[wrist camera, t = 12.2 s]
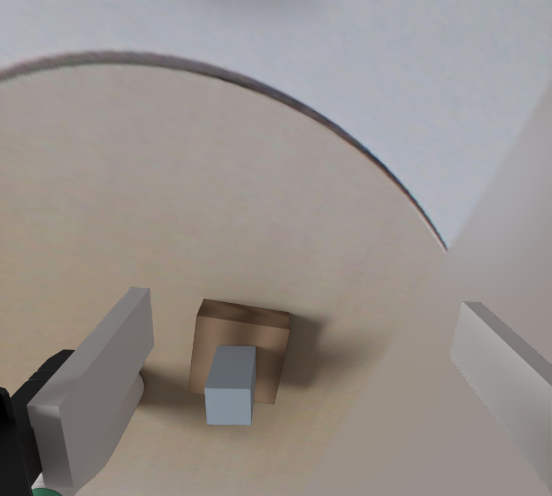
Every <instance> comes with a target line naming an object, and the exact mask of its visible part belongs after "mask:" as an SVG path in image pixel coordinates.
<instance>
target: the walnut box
mask: <svg viewBox="0 0 552 496" xmlns="http://www.w3.org/2000/svg"><path fill="white" fill-rule="evenodd" d="M289 333H290V320H289V312H284V311H277V310H271V309H265V308H258V307H252V306H246V305H239V304H233V303H227V302H220V301H214V300H207V299H203V302H202V304H201V306H200V309H199V311H198V314H197V317H196V325H195V334H194V342H193V351H192V360H191V368H190V377H189V385H188V392H189V393H196V394H203V395H205V390H204V388H205V385H206V381H207V378H208V375H209V371H210V368H211V365H212V361H213V358H214V354H215V351H216V348H217V346H256V384H255V393H254V402H259V403H266V404H273V405H274V403H275V398H276V394H277V389H278V384H279V380H280V375H281V370H282V366H283V361H284V356H285V352H286V347H287V342H288V338H289Z"/></svg>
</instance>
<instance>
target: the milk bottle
mask: <svg viewBox="0 0 552 496" xmlns="http://www.w3.org/2000/svg"><path fill="white" fill-rule="evenodd" d="M143 392H144V383H143V379H142V377H141V376H140V374H139V373H138V375H137V376H136V378H135V380H134V382H133V384H132V386H131V387H130V389H129V391H128V393H127V395H126V396H125V398H124V400H123V402H122V404H121V405H120V407H119V409H118V411H117V413H116V414H115V416H114V418H113V420H112V422H111V423H110V425H109V427H108V429H107V431H106V432H105V434H104V436H103V438H102V440H101V441H100V443H99V445H98V447H97V449H96V450H95V452H94V454H93V456H92V458H91V459H90V461H89V463H88V465H87V467H86V468H85V470H84V472H83V474H82V476H81V477H80V479H79V481H78V483H77V485H76V486H75V488H74V489H53V488H45V486H44V481H43V477H42V472H41V474H40V475H39V477H38V478H37V480H36V481H35V483H34V485H33V486H32V492H33V496H74V495H75V494H76V493H77V492H78V491H79V490H80V489H81V488H82V487H83V486H84V485H85V484H86V483H88V482H89V481H90V480H91V479H93V478H94V477H95V476H96V475H97V474H98V473H99V472H100V471H101V470H102V469H103V467H104V466H105V465H106V463H107V462H108V460H109V459H110V457H111V455H112V454H113V452H114V450H115V448H116V446H117V445H118V443H119V441H120V439H121V437H122V435H123V433H124V431H125V429H126V427H127V425H128V423H129V421H130V419H131V417H132V415H133V413H134V411H135V409H136V407H137V405H138V403H139V401H140V399H141V397H142V395H143Z"/></svg>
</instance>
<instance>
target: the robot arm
mask: <svg viewBox="0 0 552 496" xmlns="http://www.w3.org/2000/svg"><path fill="white" fill-rule="evenodd" d="M153 346H154V337H153V324H152V311H151V297H150V288H136V287H131V288H130V289H129V290H128V292H127V293H126V294H125V295H124V296H123V297H122V298H121V299H120V301H119V302H118V303H117V304H116V305H115V306H114V307H113V308H112V310H111V311H110V312H109V313H108V314H107V315H106V316H105V317H104V319H103V320H102V321H101V322H100V323H99V324H98V325H97V326H96V328H95V329H94V330H93V331H92V332H91V333H90V334H89V335H88V337H87V338H86V339H85V340H84V341H83V342H82V343H81V344H80V346H79V347H78V348H77V349H76V350H65V349H64V350H62V351H60V352H59V353H57V354H55V355H54V356H52V357H50V358H49V359H48V360H47V361H46V362H45V363H44V364H43V365H42V366H41V367H40V368H39V369H38V371H37V372H35V373H34V374H33V375H32V376H31V377H30V378H29V380H28V381H26V382H25V383H24V384H23V385H22V386H21V387H20V388H19V389H18V390H17V391H16V392H15V394H14V395H13V396H12V397H11V398H10V396H9V393H8V391H7V390H6V389H5V388H2V387H0V496H33V492H32V486H33V484H34V483H35V481H36V480H37V478H38V477H39V475H40V474H41V472H42V477H43V481H44V486H45V488H53V489H74V488H75V486H76V485H77V483H78V481H79V479H80V477H81V476H82V474H83V472H84V470H85V468H86V467H87V465H88V463H89V461H90V459H91V458H92V456H93V454H94V452H95V450H96V449H97V447H98V445H99V443H100V441H101V440H102V438H103V436H104V434H105V432H106V431H107V429H108V427H109V425H110V423H111V422H112V420H113V418H114V416H115V414H116V413H117V411H118V409H119V407H120V405H121V404H122V402H123V400H124V398H125V396H126V395H127V393H128V391H129V389H130V387H131V386H132V384H133V382H134V380H135V378H136V376H137V375H138V373H139V371H140V369H141V367H142V366H143V364H144V362H145V360H146V358H147V357H148V355H149V353H150V351H151V349H152V348H153ZM449 357H450V358H451V360H452V361H453V362H454V364H455V365H456V366H457V368H458V369H459V370H460V372H461V373H462V375H463V376H464V377H465V379H467V381H468V383H469V384H470V385H471V387H472V388H473V389H474V391H475V392H476V393H477V395H478V396H479V397H480V399H481V400H482V401H483V403H484V404H485V406H486V407H487V408H488V409H489V411H490V412H491V414H492V415H493V416H494V418H495V419H496V420H497V422H498V423H499V424H500V426H501V427H502V428H503V430H504V431H505V432H506V434H507V435H508V437H509V438H510V439H511V441H512V442H513V443H514V445H515V446H516V447H517V449H518V450H519V451H520V453H521V454H522V455H523V457H524V458H525V460H526V461H527V462H528V464H529V465H530V466H531V468H532V469H533V470H534V472H535V473H536V474H537V476H538V477H539V478H540V480H541V481H542V482H543V484H544V485H545V486H546V488H547V489H548V491H549V492H550V493H551V495H552V364H551V363H550V362H548V361H547V360H546V359H545V358H544V357H543V356H542V355H541V354H539V353H538V352H537V351H536V350H535V349H534V348H532V347H531V346H530V345H529V344H528V343H527V342H526V341H525V340H523V339H522V338H521V337H520V336H519V335H517V334H516V333H515V332H514V331H513V330H512V329H510V327H508V326H507V325H506V324H505V323H504V322H503V321H502V320H500V319H499V318H498V317H497V316H496V315H495V314H494V313H492V312H491V311H490V310H489V309H488V308H487V307H485V306H484V305H483V304H482V303H481V302H465V301H463V302H462V306H461V310H460V315H459V318H458V323H457V327H456V331H455V335H454V339H453V344H452V348H451V352H450V356H449Z"/></svg>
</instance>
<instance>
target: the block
mask: <svg viewBox="0 0 552 496" xmlns="http://www.w3.org/2000/svg"><path fill="white" fill-rule="evenodd" d="M255 384H256V346H217V348H216V351H215V354H214V358H213V361H212V365H211V368H210V371H209V375H208V378H207V381H206V385H205V388H204V390H205V403H206V416H207V424H210V425H251V422H252V412H253V403H254V393H255Z"/></svg>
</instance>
